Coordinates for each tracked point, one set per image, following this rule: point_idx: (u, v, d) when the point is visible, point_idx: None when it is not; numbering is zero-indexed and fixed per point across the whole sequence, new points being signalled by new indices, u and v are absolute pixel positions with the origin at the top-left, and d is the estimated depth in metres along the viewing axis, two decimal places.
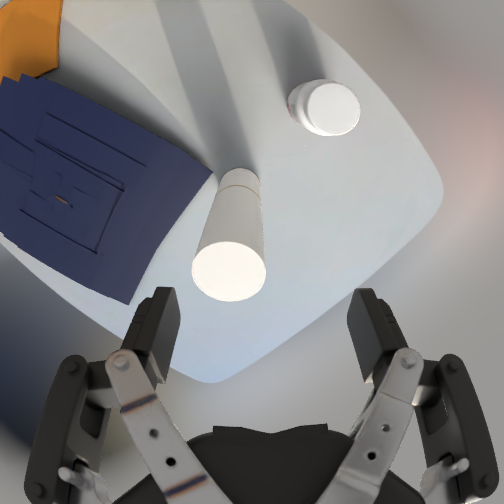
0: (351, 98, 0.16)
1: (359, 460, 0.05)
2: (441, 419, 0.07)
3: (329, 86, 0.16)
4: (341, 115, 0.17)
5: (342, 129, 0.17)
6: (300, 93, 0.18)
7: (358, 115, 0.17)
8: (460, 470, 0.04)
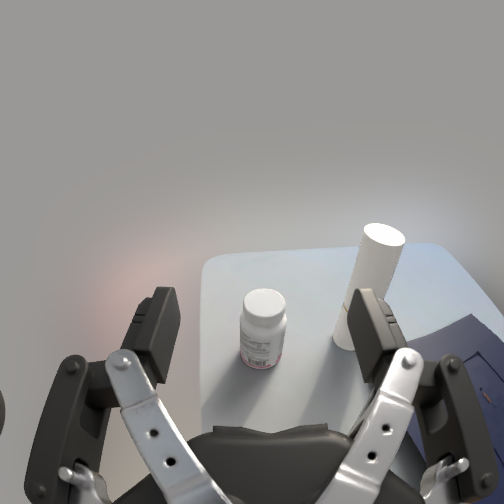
0: (248, 300, 0.26)
1: (359, 460, 0.05)
2: (441, 419, 0.07)
3: (256, 313, 0.25)
4: (263, 296, 0.26)
5: (268, 290, 0.27)
6: (273, 334, 0.25)
7: (251, 291, 0.27)
8: (460, 470, 0.04)
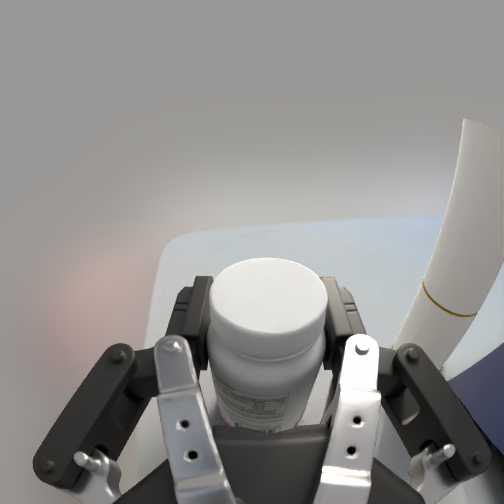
0: (222, 288, 0.09)
1: (340, 458, 0.05)
2: (411, 406, 0.08)
3: (247, 323, 0.08)
4: (264, 276, 0.10)
5: (278, 262, 0.10)
6: (298, 379, 0.09)
7: (233, 265, 0.10)
8: (447, 456, 0.04)
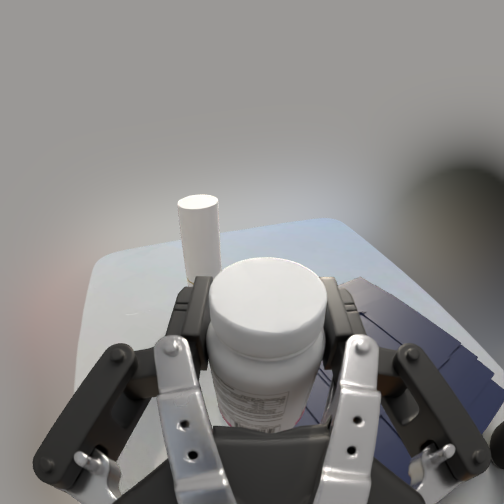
0: (222, 287, 0.09)
1: (340, 458, 0.05)
2: (411, 406, 0.08)
3: (247, 322, 0.08)
4: (264, 275, 0.10)
5: (277, 262, 0.10)
6: (297, 378, 0.09)
7: (233, 265, 0.10)
8: (447, 456, 0.04)
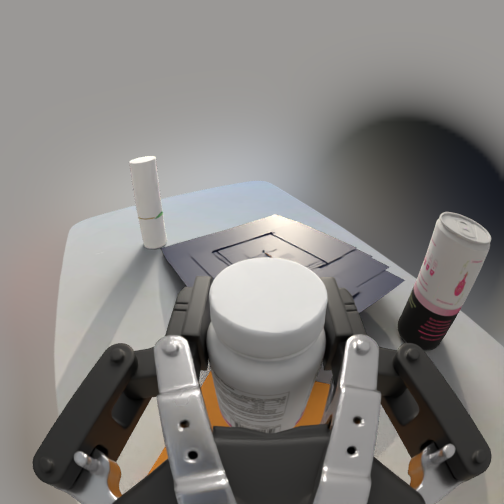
0: (222, 287, 0.09)
1: (340, 458, 0.05)
2: (411, 406, 0.08)
3: (247, 322, 0.08)
4: (265, 276, 0.10)
5: (278, 262, 0.10)
6: (298, 378, 0.09)
7: (233, 265, 0.10)
8: (447, 456, 0.04)
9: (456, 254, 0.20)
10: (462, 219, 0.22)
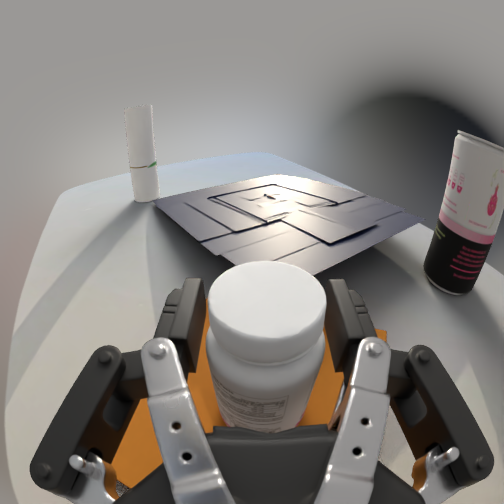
0: (221, 292, 0.09)
1: (345, 458, 0.05)
2: (419, 409, 0.08)
3: (245, 327, 0.08)
4: (263, 279, 0.10)
5: (277, 265, 0.10)
6: (297, 382, 0.09)
7: (232, 269, 0.10)
8: (451, 459, 0.04)
9: (484, 161, 0.15)
10: None
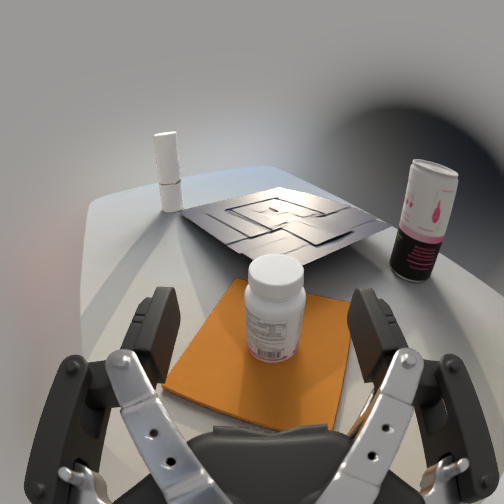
0: (254, 268, 0.20)
1: (359, 460, 0.05)
2: (441, 419, 0.07)
3: (267, 281, 0.18)
4: (274, 262, 0.20)
5: (280, 256, 0.21)
6: (291, 311, 0.19)
7: (258, 257, 0.21)
8: (460, 470, 0.04)
9: (428, 184, 0.25)
10: (433, 165, 0.28)
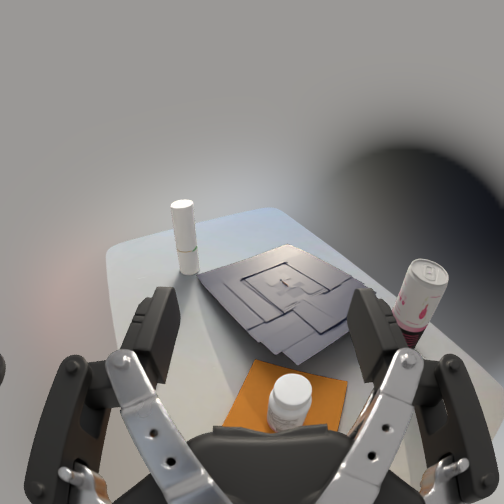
0: (278, 389, 0.25)
1: (359, 460, 0.05)
2: (441, 419, 0.07)
3: (287, 401, 0.24)
4: (291, 383, 0.26)
5: (295, 376, 0.27)
6: (301, 414, 0.25)
7: (280, 378, 0.27)
8: (460, 470, 0.04)
9: (419, 292, 0.31)
10: (429, 264, 0.34)
